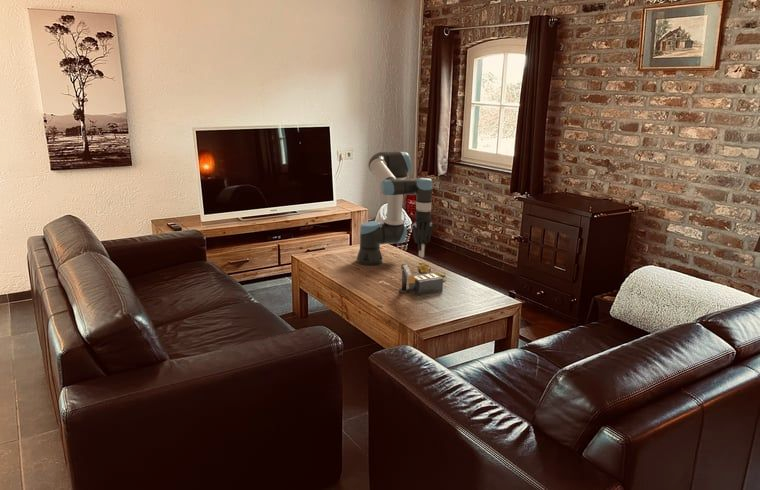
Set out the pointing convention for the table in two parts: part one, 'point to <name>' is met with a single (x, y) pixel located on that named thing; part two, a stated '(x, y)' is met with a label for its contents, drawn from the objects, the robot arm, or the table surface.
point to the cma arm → (408, 273)
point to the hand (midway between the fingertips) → (421, 256)
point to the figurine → (424, 270)
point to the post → (404, 283)
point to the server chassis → (426, 284)
